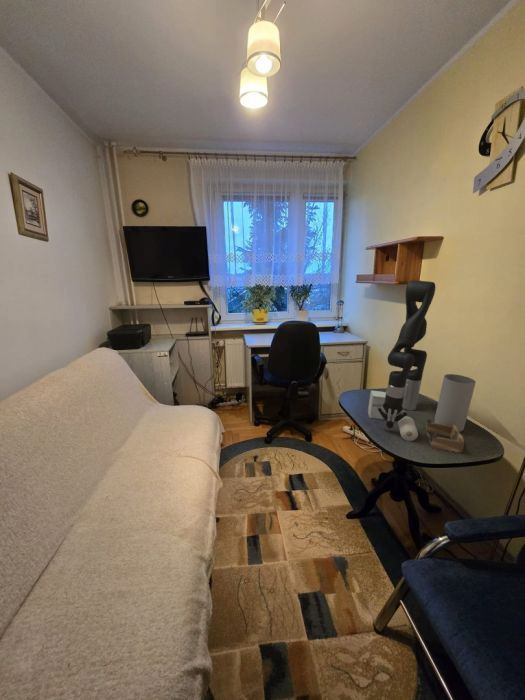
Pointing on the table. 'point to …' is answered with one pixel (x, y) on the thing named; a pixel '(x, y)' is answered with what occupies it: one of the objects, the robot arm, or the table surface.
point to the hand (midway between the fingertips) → (389, 427)
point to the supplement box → (376, 404)
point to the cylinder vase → (454, 400)
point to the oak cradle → (442, 443)
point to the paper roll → (407, 429)
